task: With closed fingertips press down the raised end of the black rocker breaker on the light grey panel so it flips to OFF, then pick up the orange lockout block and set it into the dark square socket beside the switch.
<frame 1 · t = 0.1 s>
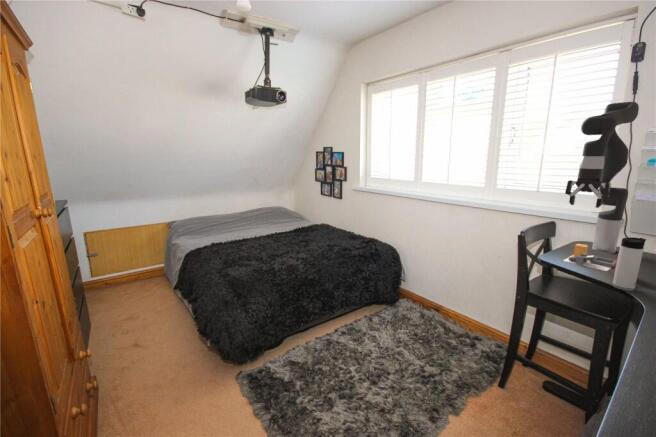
hand: (584, 206, 131), 29 cm above the table, tool pointing down, fingers open, 8 cm apart
lockout socket: (603, 263, 142), resting on breaker panel
switch mount: (580, 265, 143), resting on breaker panel
travel mug: (623, 288, 120), on the table
beer can: (623, 279, 128), on the table
breaker rocker: (581, 258, 143), point 3 cm above the table, hinge at 18.0°
breaker panel: (588, 264, 144), on the table
lockout block: (579, 257, 150), point 1 cm above the table, touching breaker panel
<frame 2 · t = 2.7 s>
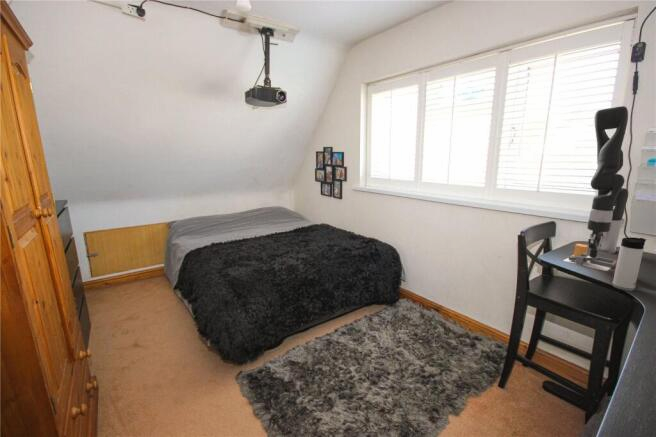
hand: (593, 257, 139), 5 cm above the table, tool pointing down, fingers closed
breaker rocker: (581, 258, 143), point 3 cm above the table, hinge at 14.6°, touching gripper
everything else where it was.
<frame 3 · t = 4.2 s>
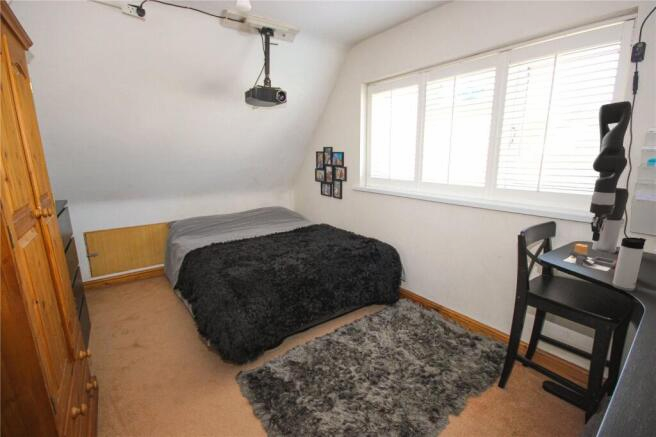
hand: (595, 240, 138), 13 cm above the table, tool pointing down, fingers closed
breaker rocker: (582, 258, 143), point 3 cm above the table, hinge at -21.9°, touching breaker panel
everything else where it was.
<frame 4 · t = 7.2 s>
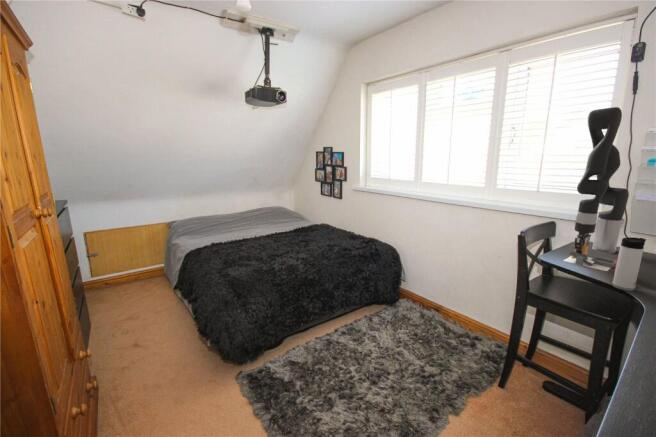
hand: (579, 256, 150), 2 cm above the table, tool pointing down, fingers closed on lockout block, 4 cm apart
breaker rocker: (581, 258, 143), point 3 cm above the table, hinge at -20.2°
lockout block: (579, 257, 150), point 1 cm above the table, touching breaker panel, gripper
everything else where it was.
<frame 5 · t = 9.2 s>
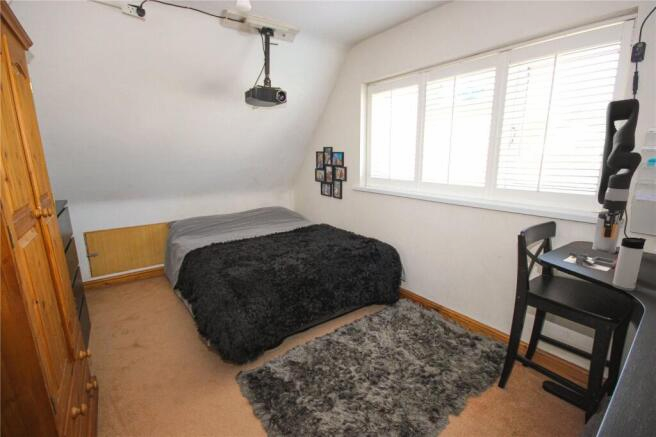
hand: (608, 236, 139), 14 cm above the table, tool pointing down, fingers closed on lockout block, 4 cm apart
lockout block: (608, 237, 139), point 14 cm above the table, touching gripper
everything else where it was.
when the fingers open (3 cm above the table, at t = 11.5 s): lockout block drops 1 cm, resting on breaker panel.
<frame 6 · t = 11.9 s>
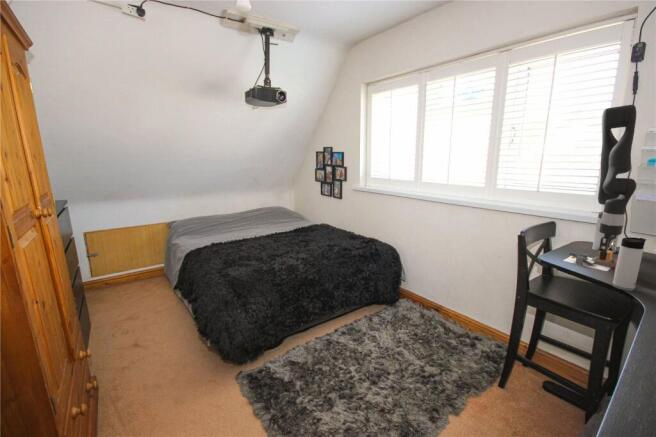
hand: (604, 257, 141), 4 cm above the table, tool pointing down, fingers open, 7 cm apart
lockout block: (603, 263, 142), point 1 cm above the table, touching breaker panel
everything else where it was.
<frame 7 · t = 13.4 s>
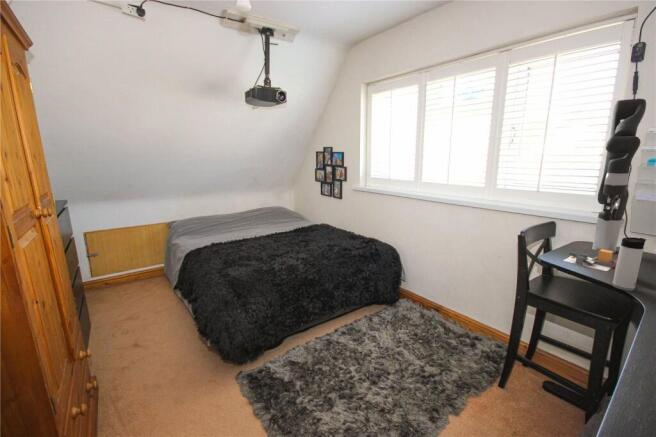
hand: (609, 219, 140), 22 cm above the table, tool pointing down, fingers open, 8 cm apart
nothing on the table moved.
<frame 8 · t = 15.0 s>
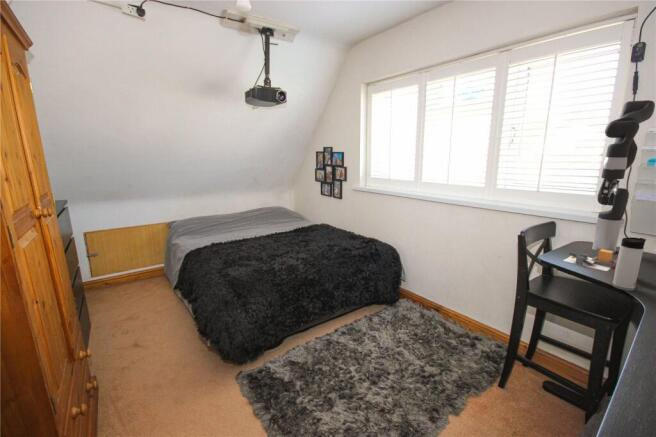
hand: (607, 203, 141), 28 cm above the table, tool pointing down, fingers open, 8 cm apart
nothing on the table moved.
at the end: breaker rocker at -20° (first picture: +18°); lockout block 0.1 cm off-centre on the lockout socket, point 0.0 cm above the lockout socket's base; lockout block tilted 0° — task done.
